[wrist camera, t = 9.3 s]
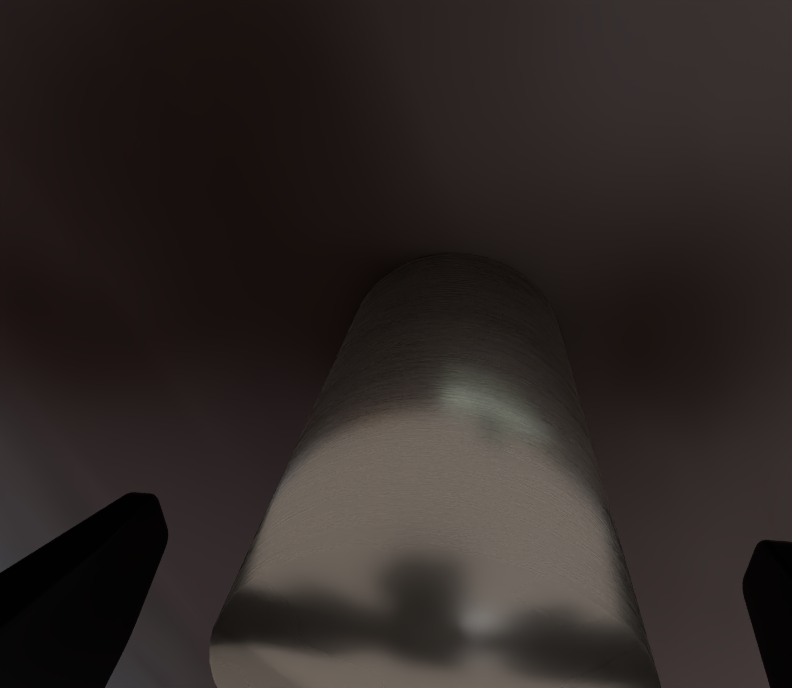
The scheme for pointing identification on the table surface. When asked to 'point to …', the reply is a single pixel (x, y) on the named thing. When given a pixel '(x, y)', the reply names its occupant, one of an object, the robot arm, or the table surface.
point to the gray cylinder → (439, 510)
